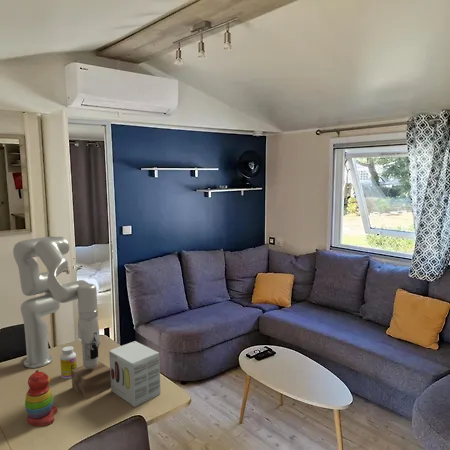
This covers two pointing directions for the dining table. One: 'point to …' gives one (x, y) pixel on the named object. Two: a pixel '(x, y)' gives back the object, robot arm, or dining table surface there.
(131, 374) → the supplement box
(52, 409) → the stacking bear
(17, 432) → the dining table surface
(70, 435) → the dining table surface
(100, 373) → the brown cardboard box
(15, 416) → the dining table surface
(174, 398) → the dining table surface
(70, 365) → the supplement bottle
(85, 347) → the energy drink can
